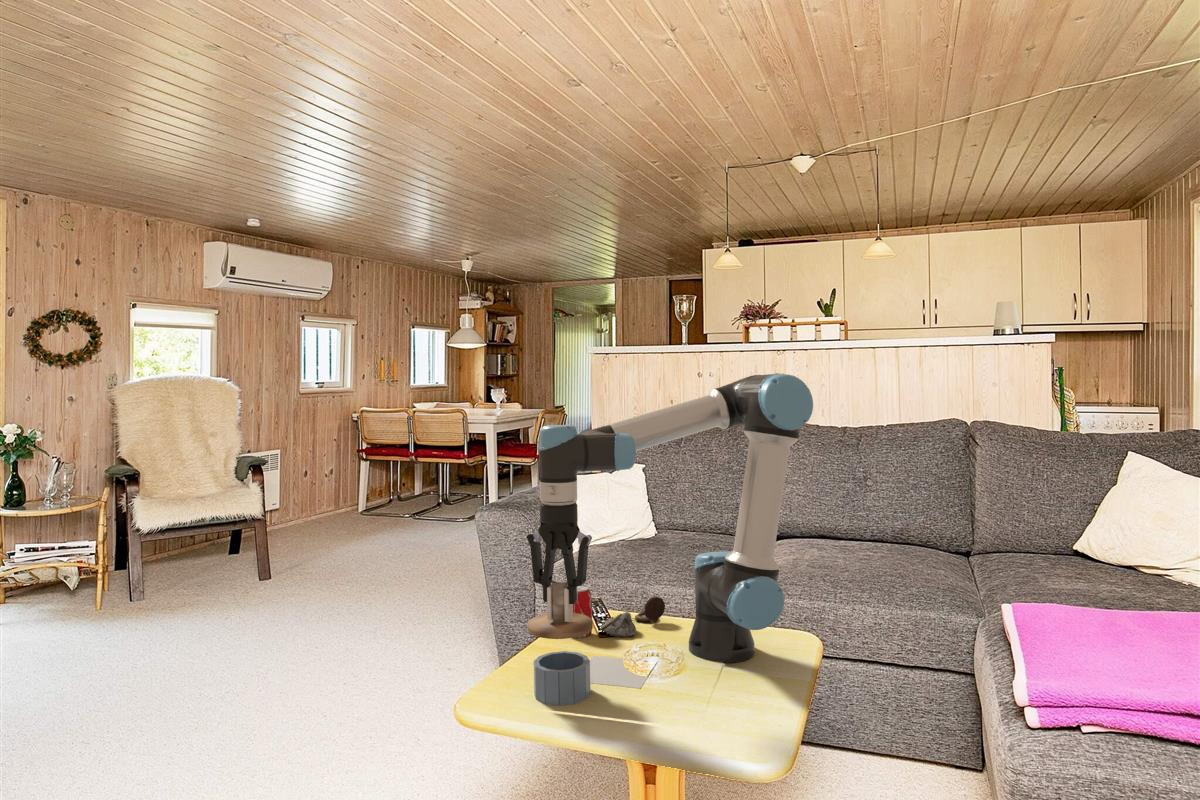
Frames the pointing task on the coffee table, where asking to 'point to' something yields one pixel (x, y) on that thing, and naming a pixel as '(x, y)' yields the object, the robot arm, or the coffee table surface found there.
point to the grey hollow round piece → (561, 678)
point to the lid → (559, 619)
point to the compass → (651, 611)
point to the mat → (613, 673)
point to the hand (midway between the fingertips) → (560, 618)
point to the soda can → (583, 604)
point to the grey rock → (620, 626)
